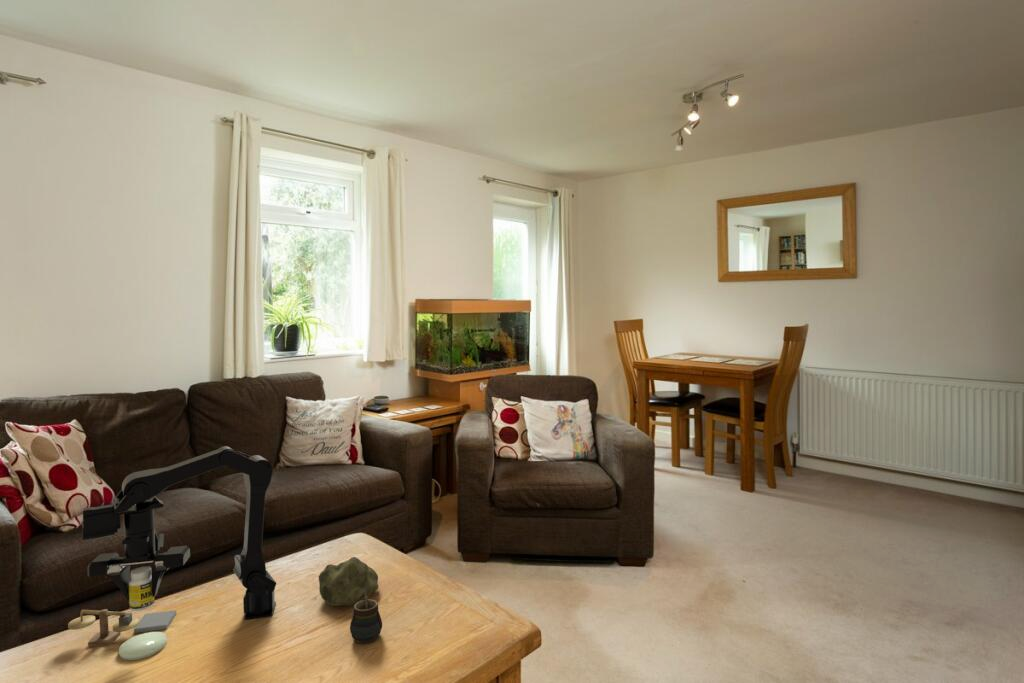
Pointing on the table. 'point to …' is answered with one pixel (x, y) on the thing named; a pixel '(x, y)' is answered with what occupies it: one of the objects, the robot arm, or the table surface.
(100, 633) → the balance
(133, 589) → the supplement bottle
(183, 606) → the table surface
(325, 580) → the decorative rock
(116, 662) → the table surface
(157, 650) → the sage dish
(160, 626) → the slate coaster
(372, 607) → the mate gourd
